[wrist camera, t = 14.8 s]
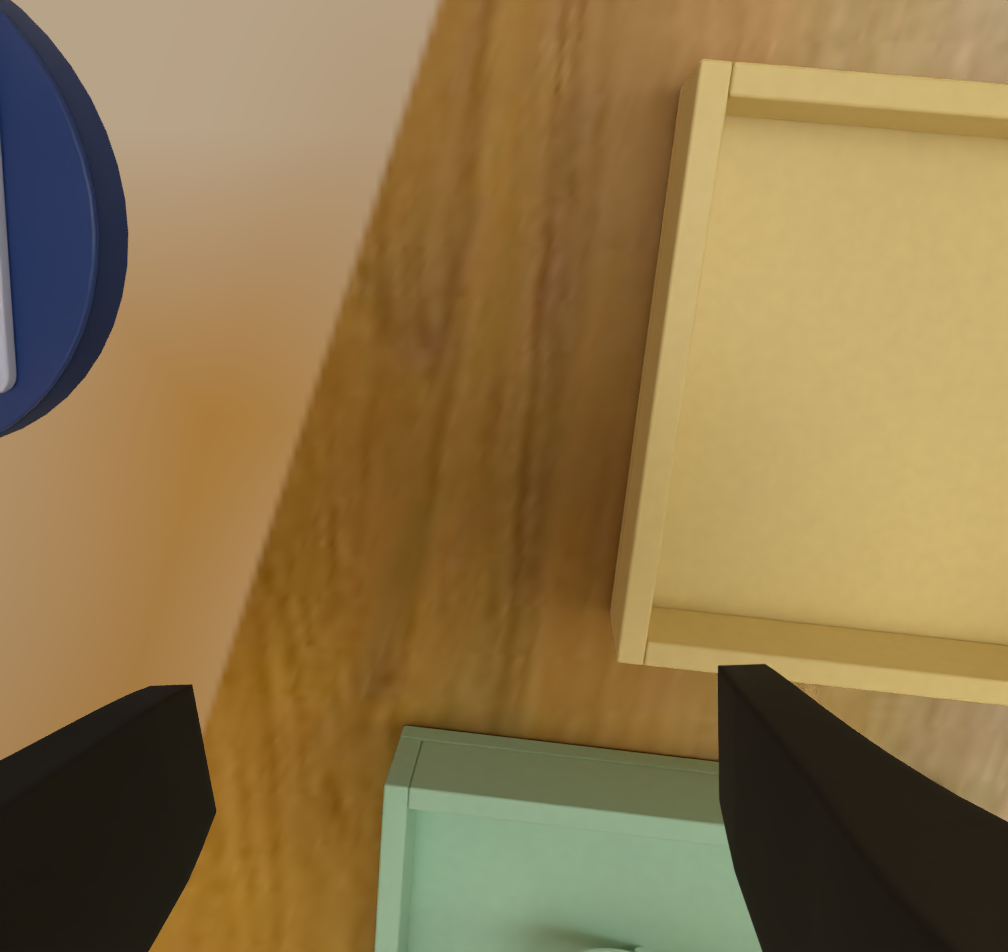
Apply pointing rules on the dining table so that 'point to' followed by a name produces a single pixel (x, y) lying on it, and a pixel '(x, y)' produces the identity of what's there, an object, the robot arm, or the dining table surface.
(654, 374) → the yellow tray
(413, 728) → the green tray
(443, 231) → the dining table surface
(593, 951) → the ring
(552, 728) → the dining table surface
